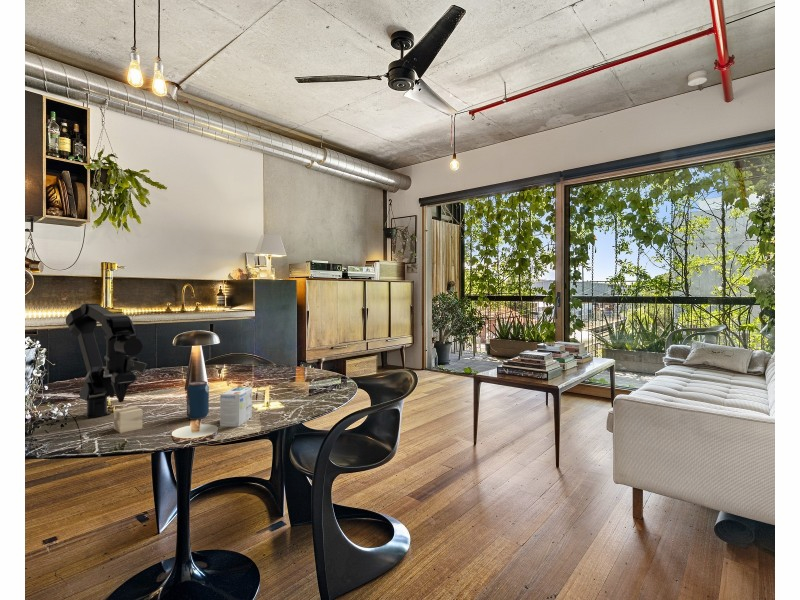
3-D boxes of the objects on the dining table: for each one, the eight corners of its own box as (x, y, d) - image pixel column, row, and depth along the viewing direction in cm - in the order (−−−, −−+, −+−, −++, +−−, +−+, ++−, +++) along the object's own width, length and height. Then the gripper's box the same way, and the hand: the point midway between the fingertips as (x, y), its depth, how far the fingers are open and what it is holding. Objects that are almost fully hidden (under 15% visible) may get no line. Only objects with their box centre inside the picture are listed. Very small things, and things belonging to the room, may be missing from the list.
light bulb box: (233, 416, 143) (233, 386, 143) (252, 417, 143) (252, 386, 143) (219, 426, 132) (219, 393, 132) (239, 427, 132) (239, 394, 132)
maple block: (113, 428, 128) (114, 409, 128) (135, 424, 133) (135, 406, 133) (120, 433, 125) (120, 413, 125) (142, 428, 129) (142, 409, 129)
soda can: (212, 414, 145) (213, 381, 145) (200, 420, 138) (200, 385, 138) (195, 413, 146) (195, 380, 146) (181, 419, 139) (182, 384, 139)
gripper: (154, 353, 136) (153, 399, 136) (133, 348, 148) (133, 390, 148) (115, 357, 127) (114, 406, 128) (97, 351, 139) (96, 396, 139)
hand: (116, 399), depth 136 cm, fingers open, 9 cm apart
